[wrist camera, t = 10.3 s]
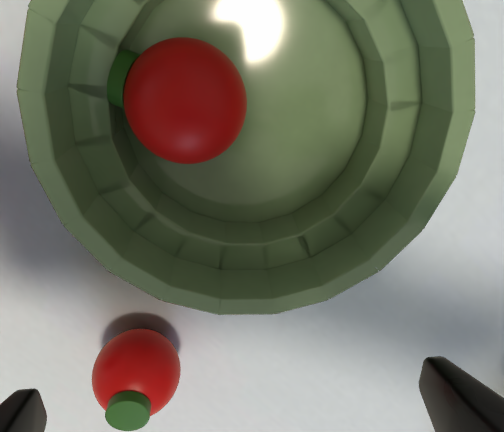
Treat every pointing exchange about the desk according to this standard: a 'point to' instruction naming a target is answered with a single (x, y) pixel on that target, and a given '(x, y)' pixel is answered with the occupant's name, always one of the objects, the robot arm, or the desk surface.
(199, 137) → the red round piece
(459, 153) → the bowl
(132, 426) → the red toy tomato
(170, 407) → the desk surface
